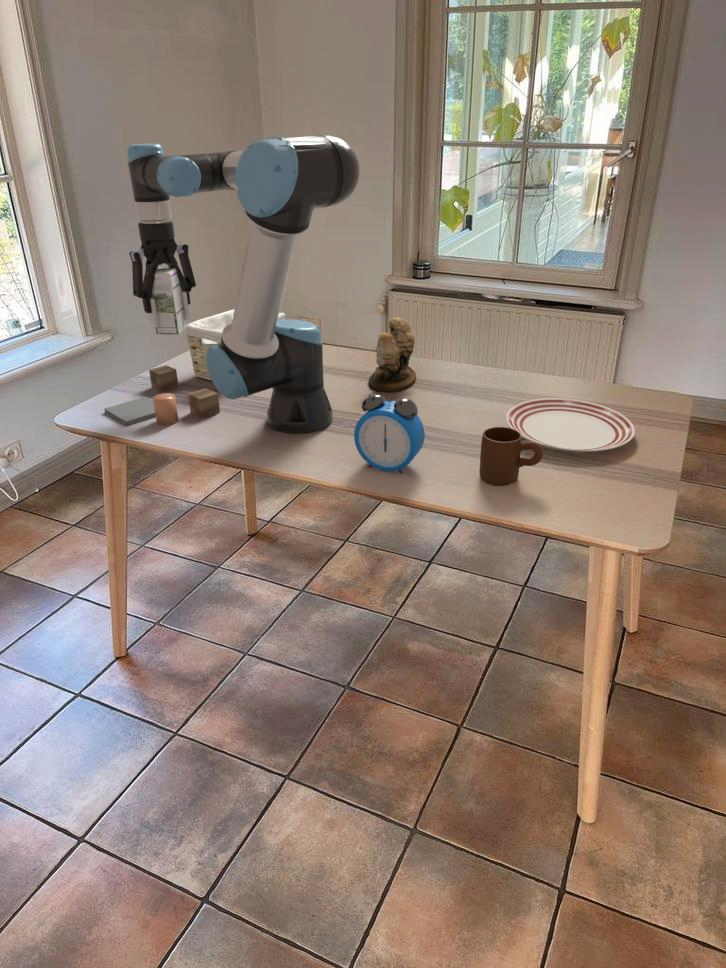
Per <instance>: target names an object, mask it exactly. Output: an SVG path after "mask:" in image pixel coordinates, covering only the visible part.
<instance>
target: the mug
mask: <svg viewBox="0 0 726 968" xmlns="http://www.w3.org/2000/svg"><path fill="white" fill-rule="evenodd" d="M522 438H523V437H522V436H521V434H520V432H518V431H517V430H514V429H511V428H510V427H507V426H506V427H505V426H493V427H490V428H487V429H485V430H484V431H483V432H482V437H481V445H480V456H479V457H480V458H479V459H480V461H479V477H480V479H481V481H483V482H484V483H486V484H488V485H491V486H494V487H495V486H496V487H505V486H510V485H513V484H514V483H516V482H517V480H518V478H519V474H520V468H523V467H524V466H526V467H532V466H535V465H537V464H539V463H540V462H541V461H542V459H543V456H544V451H543V446H541V445H539V444H538V443H536V442H533V441H529V440H527V441H522ZM528 450H532V451H534V454H533V456H531V457H530V456H522V455H521V454H522V451H528Z"/></svg>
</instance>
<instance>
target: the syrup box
mask: <svg viewBox="0 0 726 968" xmlns="http://www.w3.org/2000/svg"><path fill="white" fill-rule="evenodd" d="M151 298H153V299H154V300H155V306H156V313H157V319H158V326H159V327H154V328H155V333H156V335H181V334H182V333H183V332H184V331H185V329H186V325H187V323H186V320H185V317H184V311H183V303H182V296H181V288H180V281H179V278H178V275H177V271H176V268H169V267H158V269H157V270H156V274H155V279H154V284H153V289H152V294H151Z"/></svg>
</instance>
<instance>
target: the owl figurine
mask: <svg viewBox="0 0 726 968" xmlns="http://www.w3.org/2000/svg"><path fill="white" fill-rule="evenodd" d="M388 328H389V332H381V333H379V334H378V339H377V343H376V347H375V353H376V355H375V357H376V359H375V360H376V364H377V365H378V366H377V367H376V368H375V371H374V372H373V373H372V374H371V375H370V376H369V378H368V386H369V388H371V389H373V391H376V392H380V393H398V392H401V391H405V390H406V389H407V390H408V388H411V387H412V386H413V385H414V384H415V382H416V380H417V373H416V372H415V370H414V369H413V368H411V367H410V366H409V364H410V360H411V357H412V356H411V355H413V353H414V348H415V343H416V342H415V340H416V339H415V334H414V332H413V331H412V330H411V329H412V328H411V326H410V324H409V322H408V321H407V320H405V319H403V318H402V317H395V316H394V317H392V318H390V320H389V322H388Z"/></svg>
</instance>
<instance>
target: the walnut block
mask: <svg viewBox="0 0 726 968" xmlns="http://www.w3.org/2000/svg"><path fill="white" fill-rule="evenodd" d="M187 396H188V404H189V409H190V414H192V415H194V416H196V417H198V418H200V419H202V418H203V419H205V417H206V418H208V416H209V417H212V416H214V414H215V415H217V414H216V413H218V414H220V413H221V411H220V409H221V408H220V401H219V394H218V392H215V391H213V390H211V389H209V388H207V387H205V388H202V389H198V390H195V391H192V392H188V394H187ZM219 412H220V413H219ZM211 415H212V416H211Z"/></svg>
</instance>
